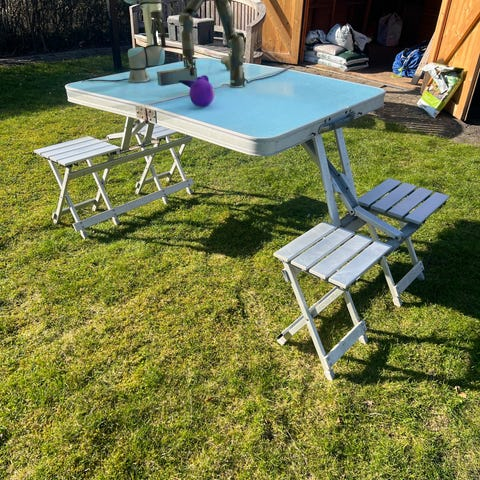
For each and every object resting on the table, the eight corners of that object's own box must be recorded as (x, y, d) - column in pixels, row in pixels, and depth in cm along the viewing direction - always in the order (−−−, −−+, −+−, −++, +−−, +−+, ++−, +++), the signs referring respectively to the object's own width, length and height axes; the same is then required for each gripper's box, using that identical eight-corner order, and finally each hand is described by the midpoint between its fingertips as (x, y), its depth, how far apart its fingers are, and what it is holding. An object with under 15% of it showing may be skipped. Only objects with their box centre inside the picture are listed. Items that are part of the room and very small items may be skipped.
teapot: (224, 71, 365) (223, 52, 358) (217, 69, 374) (217, 50, 366) (247, 69, 374) (246, 49, 367) (240, 67, 383) (239, 48, 375)
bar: (161, 86, 287) (160, 73, 282) (158, 84, 291) (156, 71, 286) (197, 80, 298) (196, 67, 294) (193, 79, 302) (192, 66, 298)
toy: (202, 97, 286) (214, 113, 266) (175, 93, 279) (186, 108, 258) (208, 72, 278) (220, 86, 258) (180, 67, 271) (191, 81, 250)
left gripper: (169, 11, 282) (172, 47, 292) (154, 10, 300) (157, 44, 311) (158, 12, 278) (161, 48, 289) (143, 10, 297) (147, 45, 307)
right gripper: (198, 48, 285) (200, 76, 293) (188, 45, 295) (190, 72, 304) (187, 49, 281) (190, 77, 290) (178, 47, 292) (180, 74, 300)
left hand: (159, 46), depth 300 cm, fingers open, 13 cm apart
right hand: (190, 75), depth 297 cm, fingers closed on bar, 5 cm apart
